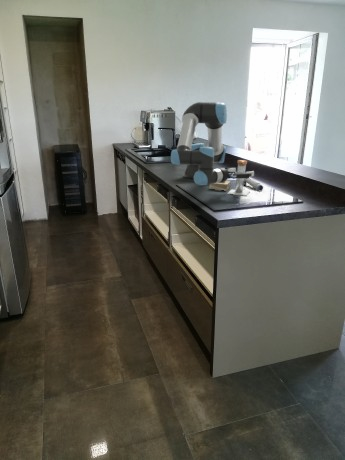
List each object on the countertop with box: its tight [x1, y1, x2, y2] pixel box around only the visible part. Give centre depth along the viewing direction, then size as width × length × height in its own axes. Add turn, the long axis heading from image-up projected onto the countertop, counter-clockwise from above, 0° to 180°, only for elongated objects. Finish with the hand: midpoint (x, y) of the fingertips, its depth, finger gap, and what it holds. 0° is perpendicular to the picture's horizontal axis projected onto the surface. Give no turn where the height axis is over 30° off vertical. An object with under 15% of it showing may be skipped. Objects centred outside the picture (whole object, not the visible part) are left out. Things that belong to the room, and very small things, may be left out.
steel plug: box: [234, 159, 248, 193], centre depth 200 cm, size 5×5×18 cm
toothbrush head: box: [244, 177, 264, 192], centre depth 220 cm, size 5×7×25 cm
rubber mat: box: [227, 188, 251, 197], centre depth 203 cm, size 11×11×1 cm
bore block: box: [209, 180, 232, 192], centre depth 213 cm, size 11×11×4 cm
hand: (244, 171), depth 201 cm, fingers open, 13 cm apart
